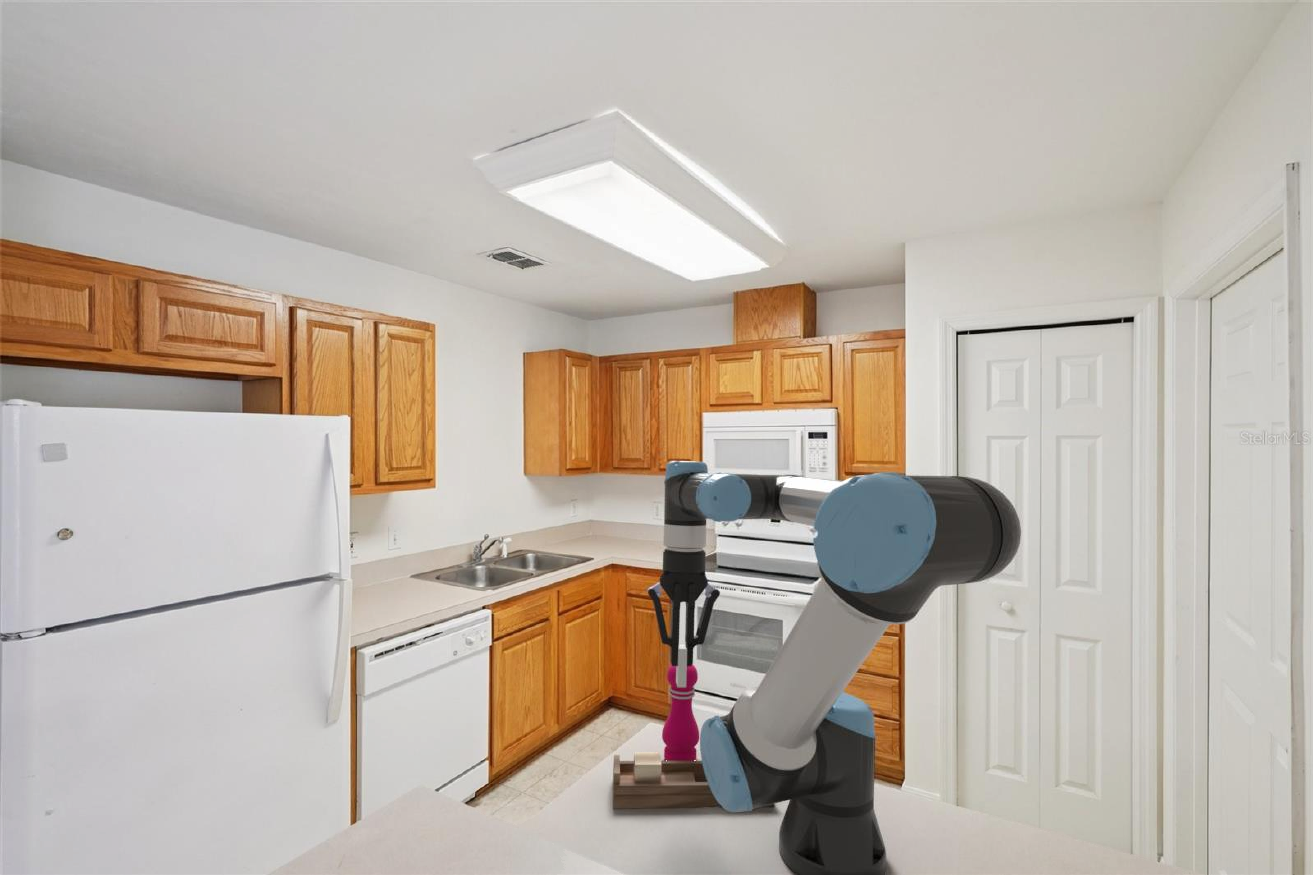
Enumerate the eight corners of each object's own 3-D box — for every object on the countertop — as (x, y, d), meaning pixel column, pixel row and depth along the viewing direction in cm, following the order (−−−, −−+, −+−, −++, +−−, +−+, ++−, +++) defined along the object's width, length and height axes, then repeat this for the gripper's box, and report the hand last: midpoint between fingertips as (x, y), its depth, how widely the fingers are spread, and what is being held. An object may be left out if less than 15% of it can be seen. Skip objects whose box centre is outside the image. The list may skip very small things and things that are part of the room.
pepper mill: (695, 770, 114) (698, 661, 115) (657, 764, 116) (660, 657, 116) (701, 752, 121) (704, 650, 122) (665, 747, 123) (668, 646, 123)
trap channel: (774, 806, 102) (774, 776, 102) (613, 808, 100) (614, 777, 101) (761, 779, 111) (761, 751, 111) (612, 780, 109) (613, 751, 110)
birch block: (660, 788, 103) (661, 764, 103) (634, 789, 103) (635, 764, 103) (658, 775, 108) (659, 752, 108) (633, 775, 107) (634, 752, 107)
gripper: (717, 546, 112) (714, 677, 111) (646, 545, 111) (642, 677, 110) (725, 552, 104) (721, 692, 103) (649, 550, 103) (645, 692, 102)
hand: (681, 684), depth 106 cm, fingers closed
